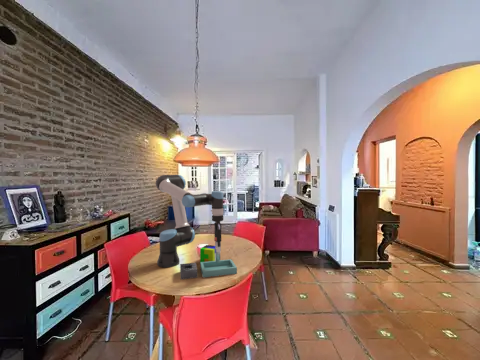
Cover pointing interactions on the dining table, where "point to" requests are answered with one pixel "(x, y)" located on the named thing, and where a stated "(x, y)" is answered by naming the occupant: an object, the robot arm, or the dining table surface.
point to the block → (188, 270)
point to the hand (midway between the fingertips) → (218, 250)
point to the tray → (218, 268)
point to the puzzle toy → (207, 253)
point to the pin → (217, 252)
